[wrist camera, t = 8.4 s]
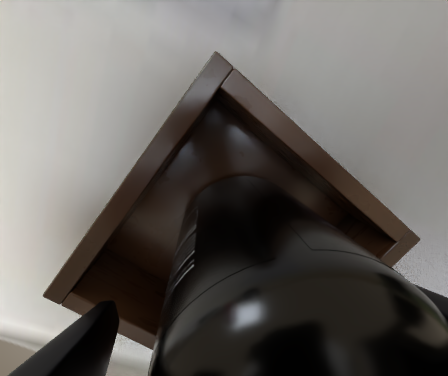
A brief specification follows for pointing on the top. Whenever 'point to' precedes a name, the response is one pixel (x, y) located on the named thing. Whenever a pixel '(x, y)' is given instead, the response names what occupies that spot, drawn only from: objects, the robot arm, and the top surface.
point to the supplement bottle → (287, 296)
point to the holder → (198, 181)
